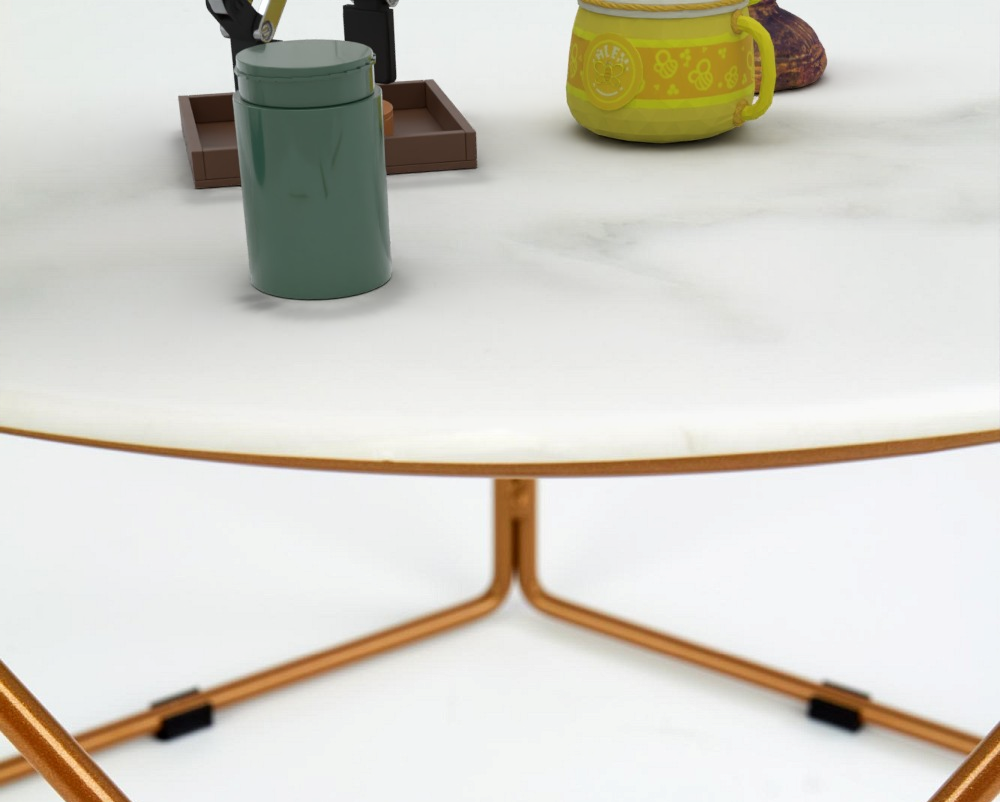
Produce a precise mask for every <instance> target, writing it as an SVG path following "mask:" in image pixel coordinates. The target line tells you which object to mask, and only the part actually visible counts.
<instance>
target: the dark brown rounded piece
mask: <svg viewBox="0 0 1000 802" xmlns="http://www.w3.org/2000/svg"><path fill="white" fill-rule="evenodd" d="M747 7H748V11H749V16H750V17H751V18H753V19H754V20H756V21H757V22H759V23H760V24H761V25H762V26H763V27H764V28H765V29H766V30H767V32H768V33H769V34H770V37H771V40H772V43H773V46H774V56H775V68H776V81H775V87H774V92H775V91H783V90H787V89H798V88H802V87H805V86H806V87H807V86H808V85H810V84H813V83H815V82H817V81H818V80H819V79H821V77H822V76H823V75H824V72H825V71H826V69H827V67H828V58H827V53H826V49H825V47H824V46H823V43H822V42H821V40H820V39H819V36H818V34H817V33H816V31H815V29H814V28H813V27H812V26H811V25H810V24H809V23H808V22H807V21H805V20H803V19H802V18H801V17H799V16H798V15H796V14H794V13H792V12H791V11H788V10H787V9H784V8H782V7H780V6H779V4H778V2H777V0H761V1H759V2H758V3H756V4H753V5H749V6H747ZM753 47H754V69H755V91H754V94H759V92H760V86H761V80H762V72H761V55H760V51H759V47H758V44H757V43H756V41H755V40H754V39H753Z"/></svg>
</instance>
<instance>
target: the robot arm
mask: <svg viewBox="0 0 1000 802" xmlns="http://www.w3.org/2000/svg"><path fill="white" fill-rule="evenodd" d="M287 1H288V0H261V2H260V4H259V7H258V9H257V10H256V9H255V8H254V6H253V5H252V4H253V2H254V0H204V2H205V6H206V7H205V8H206V9H207V11H208V13H210V14H211V16H212V17H213V18H214V19H215V20H216V21H217V23H218V24H219V32H220V34H221V35H222V37H223V38H225V39H229V40H230V51H231V62H232V70H233V71H232V73H233V81H234V92H236V91H237V90H239V86H238V76H237V75H236V74H235V73H234V68H235V65H236V55H237V54H238V53H239V52H240V51H242V50H244V49H247V48H250V47H253V46H257V45H261V44H266V43H272V42H280V41H284V40H282V39H276V38H275V39H274V37H275V34H276V32H277V29H278V26H279V24H280V20H281V18H282V15H283V13H284V10H285V7H286V4H287ZM399 1H400V0H350V2H351V3H346V4H343V5H342V22H343V23H342V24H343V37H344V40H343V41H350V42H355V43H360V44H363V45H366V46H368V47H370V48H371V49H372V51H373V53H374V54H376V63H375V64H374V80H375V83H379V84H390V83H393V82H397V78H398V77H397V76H398V75H397V58H396V57H397V55H396V37H395V36H396V33H395V14H394V8H396V7H397V6H398V4H399Z"/></svg>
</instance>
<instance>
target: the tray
mask: <svg viewBox="0 0 1000 802" xmlns="http://www.w3.org/2000/svg"><path fill="white" fill-rule="evenodd" d="M375 84H376V85H378V86H379V87H380V88H381V89H382V99H383V100H385V101H387V102H389V103H390V104H391V105H392V106H393V120H394V135H385V154H386V173H387V175H391V174H392V175H395V174H396V175H397V174H407V173H421V172H437V171H448V170H463V169H473V168H474V169H476V168H478V160H477V159H478V154H477V153H478V148H477V146H478V145H477V131H476V130H475V128H474V127H473V126H472V125H471V124H470V123H469V121H468V120H467V119H466V118H465V116H464V115H463V114H462V112H460V110H459V109H458V108H457V106H455V104H454V103H453V102H452V100H451V98H449V97H448V96H447V94H446V93H445V92H444V91H443V89H442V88H441V87H440V86H439V84H438V83H437V82H436V80H435V79H433V78H431V79H414V80H398V81H397V80H396V81H395V82H393V83H390V84H379V83H375ZM234 93H235V91H232V92H218V93H199V94H189V95H187V94H186V95H185V94H184V95H178V96H177V100H178V108H179V117H180V125H181V132H182V136H183V141H184V144H185V149H186V153H187V159H188V162H189V166H190V171H191V176H192V179H193V184H194V189H207V188H218V187H219V188H221V187H222V188H223V187H233V186H241V177H240V167H239V157H238V147H237V137H236V127H235V117H234V107H233V94H234Z"/></svg>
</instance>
